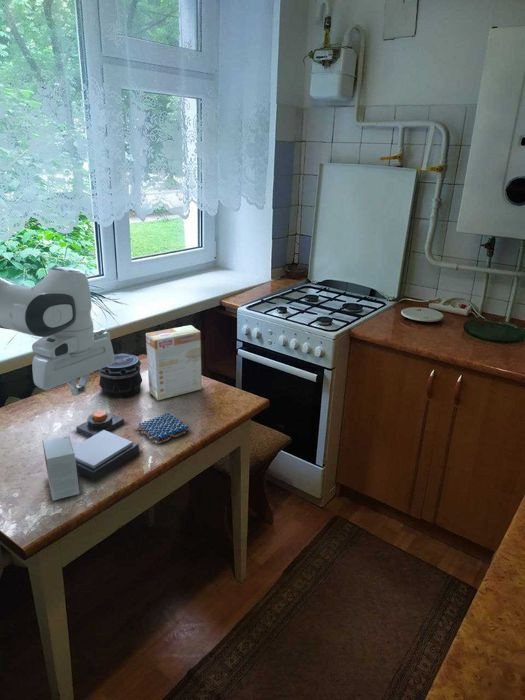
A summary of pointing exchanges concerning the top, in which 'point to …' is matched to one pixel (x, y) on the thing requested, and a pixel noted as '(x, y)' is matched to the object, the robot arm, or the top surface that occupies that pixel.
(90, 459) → the scale
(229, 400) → the top surface
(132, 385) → the container
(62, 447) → the small box
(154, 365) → the coffeecake box
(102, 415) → the tare button
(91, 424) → the dark grey button base
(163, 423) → the woven mat
